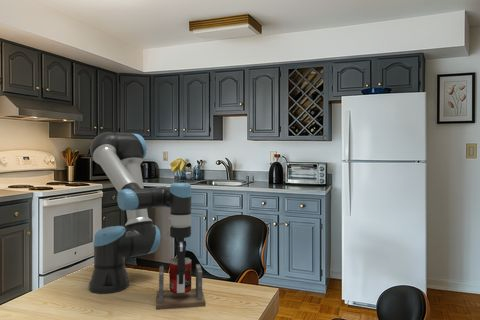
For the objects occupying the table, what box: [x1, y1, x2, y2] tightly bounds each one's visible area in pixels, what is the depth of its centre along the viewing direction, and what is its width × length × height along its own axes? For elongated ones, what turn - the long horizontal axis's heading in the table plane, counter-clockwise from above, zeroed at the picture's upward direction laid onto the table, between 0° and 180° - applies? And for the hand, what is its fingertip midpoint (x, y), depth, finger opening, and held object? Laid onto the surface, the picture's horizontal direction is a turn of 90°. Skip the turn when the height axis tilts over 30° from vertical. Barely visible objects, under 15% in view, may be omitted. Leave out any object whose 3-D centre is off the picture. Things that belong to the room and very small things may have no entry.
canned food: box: [168, 257, 192, 294], centre depth 138 cm, size 8×8×11 cm
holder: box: [155, 263, 206, 311], centre depth 139 cm, size 14×17×12 cm
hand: (180, 288), depth 139 cm, fingers closed on canned food, 8 cm apart
